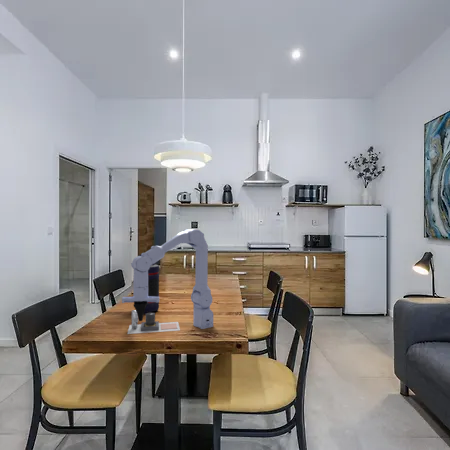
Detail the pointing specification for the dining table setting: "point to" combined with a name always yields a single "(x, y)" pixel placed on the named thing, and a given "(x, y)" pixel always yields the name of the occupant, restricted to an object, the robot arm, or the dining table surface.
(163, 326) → the pad
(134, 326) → the retention clip
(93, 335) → the dining table surface
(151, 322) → the plug
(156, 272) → the red-striped navy canister
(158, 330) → the dock board
